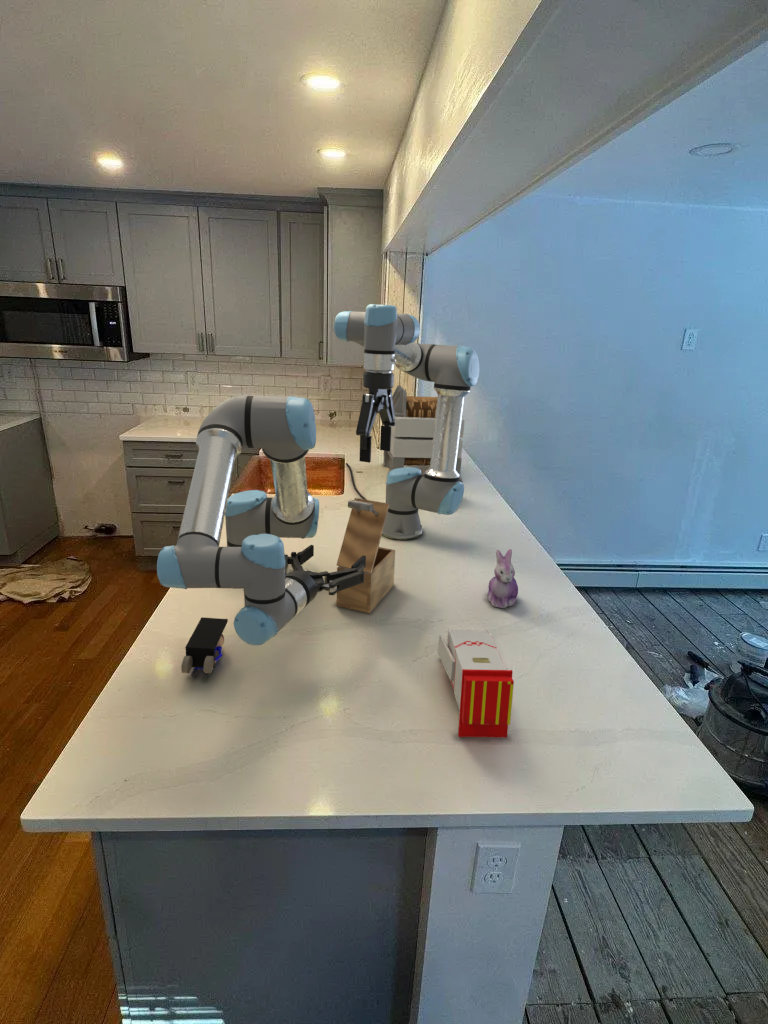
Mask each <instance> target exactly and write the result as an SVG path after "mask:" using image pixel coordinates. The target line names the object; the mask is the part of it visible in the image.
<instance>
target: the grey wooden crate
mask: <svg viewBox="0 0 768 1024" xmlns="http://www.w3.org/2000/svg"><path fill="white" fill-rule="evenodd" d="M407 394H408V393H407V390H406V389H404V388H403V387H402V385H399V384H398V385H397V386H396V388H395V390H394V392H393V393H392V401H393V408H394V416H395V426H391V446H390V451H384V450H383V466H384V467H388V468H389V472H390V471H391V470H393V469H397V468H405V466H406V467H409V466H411V467H417V466H418V467H430V461H431V452H432V443H433V433H434V424H435V415H436V406H437V397H438V396H415V395H414V396H413V395H412V396H411V395H407ZM464 429H465V419H464V418H462V422H461V430H460V438H459V446H458V455H457V463H456V471H457V473H458V474H459V475H460V476H459V478H461V472H462V461H463V460H462V453H463V442H464V441H463V440H462V439H463V438H464V431H465V430H464Z"/></svg>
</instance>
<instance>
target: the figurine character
mask: <svg viewBox="0 0 768 1024" xmlns="http://www.w3.org/2000/svg"><path fill="white" fill-rule="evenodd" d="M228 622H229V619H228V618H217V617H216V618H215V617H203V616H202V617H200V619H199V621H198V623H197V625H196V626H195V628H194V630H193V632H192V634H191V636H190V638H189V639H188V642H187V643H186V645H185V647H184V648H185V655H184V656H183V658H182V662H181V666H180V667H181V668H180V670H181V673H182V674H190V673H191V678H195V677H196V675H197V672H198V670H203V673H204V674H205V675H204V677H205V679H207V678H208V677H209V675H210V674H212V673H213V670H215V669H216V663H217V662H218V661H219V660H220V659H221V658H223V652H222V650H223V645H224V644H225V635H224V634H223V633H224V630H225V628H226V626H227V624H228ZM216 652H218V655H216ZM192 668H193V670H192ZM191 670H192V672H191Z"/></svg>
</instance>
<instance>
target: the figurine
mask: <svg viewBox="0 0 768 1024" xmlns="http://www.w3.org/2000/svg"><path fill="white" fill-rule="evenodd" d="M495 555H496V566H495V567H494V573H493V574H494V576H493V577H492V578H491V579H490V580H489V582H488V591H487V600H488V601H489V603H490V605H491V606H492V607H495V608H500V609H506V608H507V607H511V606H513V605H514V604H515V603H516V601H517V597H518V595H519V585H518V583H517V579H515V575H516V571H515V567H514V565H513V564H512V558H513V557H512V556H513V550H512V548H509V549H508V550H507V551H506V553H505V555H504V556H503V554H502V551H500V550H499V549H497V550H496V551H495Z"/></svg>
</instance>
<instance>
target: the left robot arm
mask: <svg viewBox="0 0 768 1024" xmlns="http://www.w3.org/2000/svg"><path fill="white" fill-rule="evenodd" d="M316 445H317V425H316V414H315V410H314V406H313V404H312V402H311V401H310V400H309V399H308V398H306V397H299V396H294V395H290V396H282V395H281V396H278V395H276V396H275V395H248V394H242V395H241V394H240V395H236V396H232V397H230V398H228V399H225V400H223V402H221V403H219V404H218V405H217V406H215V407H214V408H213V409H212V410H211V411H210V412H209V413H208V414H207V416H206V417H205V418H204V420H203V421H202V423H201V425H200V427H199V429H198V431H197V436H196V439H195V446H196V449H197V450H198V454H197V457H196V461H195V464H194V469H193V473H192V478H191V481H190V486H189V490H188V494H187V497H186V498H187V499H186V502H185V506H184V509H183V510H184V511H183V513H182V514H183V515H182V519H181V523H180V527H179V531H178V535H177V539H176V540H177V541H176V544H175V545H174V544H173V545H166V546H165V545H164V547H162V548H161V550H160V551H159V553H158V555H157V561H156V574H157V579H158V581H159V584H160V585H162V586H163V587H165V588H171V589H182V590H187V589H240V590H241V589H243V597H244V598H243V600H244V606H243V607H241V608H240V610H239V611H238V612H237V613H236V614H235V617H234V620H233V628H234V631H235V633H236V635H237V637H238V638H239V639H240V640H241V641H242V642H244V643H245V644H247V645H250V646H256V647H257V646H262V645H264V644H265V643H266V642H268V641H270V640H271V639H273V638H274V637H275V636H277V635H278V633H279V632H280V631H281V630H282V629H283V628H284V627H286V626H287V625H288V623H290V621H292V620H293V619H294V618H295V617H296V616H297V615H298V614H299V613H300V612H302V611H303V610H304V609H305V608H306V607H307V606H308V605H309V604H310V603H311V602H313V601H314V599H315V598H316V597H317V594H318V593H320V592H323V591H326V592H328V596H335V595H337V592H339V591H342V590H344V589H347V588H350V587H353V586H355V585H358V584H361V583H363V582H364V568H365V567H366V556H364V555H363V556H362V557H361V558H360V559H358V560H357V561H356V562H355V563H354V564H353V565H352V566H351V569H346V570H341V571H337V570H336V571H332V572H329V571H328V570H325V571H320V572H318V571H313V570H309V569H308V570H305V569H304V567H303V565H304V564H305V563H306V562H307V561H308V560H310V559H311V558H312V557H314V555H315V554H314V553H315V552H314V551H315V545H313V544H310V545H308V546H307V547H306V548H304V549H303V550H302V551H298V552H297V551H291V553H290V556H289V555H288V554H287V553H286V554H285V546H284V545H285V544H284V542H283V540H282V539H283V538H284V539H302V540H303V539H312V538H314V537H316V535H317V532H318V526H319V519H320V500H319V499H318V498H316V497H313V496H312V495H311V493H310V492H309V491H308V478H307V477H308V476H307V464H306V455H307V454H308V453H309V452H310V450H313V449H314V448H315V447H316ZM245 448H248V449H261V451H262V453H263V454H264V456H265V457H266V458H267V459H268V460H269V462H270V463H269V464H270V468H271V474H272V480H273V487H274V488H273V489H274V494H275V495H274V496H273V497H269V496H268V494H267V493H266V491H264V490H260V489H250V490H243V491H240V492H236V493H234V494H232V495H230V496H229V494H230V488H231V485H232V479H233V472H234V467H235V462H236V459H237V458H238V457H239V456H240V455H241V453H242V451H243V450H242V449H245ZM224 521H225V535H226V536H225V537H226V546H220V543H221V538H222V532H223V528H224V527H223V526H224ZM289 565H290V567H291V568H292V571H290V572H289V573H288V569H289Z"/></svg>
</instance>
